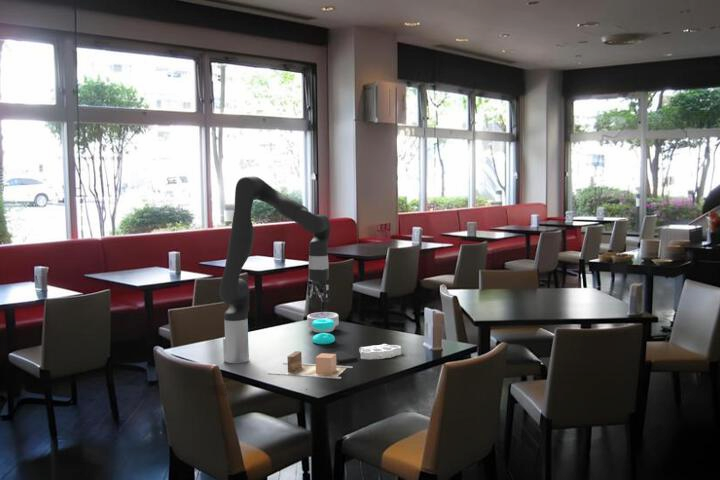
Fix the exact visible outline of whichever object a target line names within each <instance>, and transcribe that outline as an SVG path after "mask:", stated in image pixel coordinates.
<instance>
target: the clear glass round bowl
mask: <svg viewBox="0 0 720 480" xmlns="http://www.w3.org/2000/svg"><path fill="white" fill-rule="evenodd" d="M306 319H307V320H306V321H307V322H306V323H307V324H306V325H307V327H309V328H310V329H311V330H312V331H313V332H314V333H317V334H321V333H328V334H329V333H331V332H333V331H334V330H335V329H336V327H337V326H339V324H340V321H339V320H340V319H339V314H338V313H337V312H331V311H326V312H322V311H320V312H319V311H318V312H313V313H310V314H308V315H307V316H306ZM317 319H331V320H333V321H334V326H333V327H332V328H330V329H325V330H320V329H316V328H314V327H313V326H312V322H313V321H314V320H317Z"/></svg>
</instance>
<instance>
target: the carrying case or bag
mask: <svg viewBox="0 0 720 480" xmlns="http://www.w3.org/2000/svg"><path fill="white" fill-rule="evenodd" d="M325 354H336V365H337V364H338V365H346V364H352V363H356V362H359V358H358V357H357V356H355V355H352V354H350V353H347V352H346V351H345V352H344V351H341V350H338V351H332V352H326V353H325Z"/></svg>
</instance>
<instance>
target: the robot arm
mask: <svg viewBox="0 0 720 480" xmlns="http://www.w3.org/2000/svg"><path fill="white" fill-rule="evenodd" d="M255 200H257V201H261V202H264V203H266V204H267V205H268V204H269V205H270V206H271V207H272V208H274V209H275V210H276V211H277V212H278V213H279V214H281V215H282V216H283V217H285V218H287V219H289V220H290V221H293V222H295V223H297V224H298V225H299V226H300V227H301V228H303V229H304V230H305V231H307V232H309V233H311V234H312V239H311V241H310V242H309V245H308V253H309V257H308V280H307V296H308V297H309V298H310V308H312V309H316V308H317V306H318V305H317V303H318V302H317V301H318V299H317V296H318V297H319V299H320V301H321V302H320V307H321V308H320V312H328V302H330V301H331V298H332V297H331V296H332V295H331V285H330V284H326V281H328V280H329V278H330V277H329V275H330V274H329V273H330V270H329V268H330V267H329V265H330V264H329V256H328V255H329V250H328V249H329V247H328V243H329V239H330V232H331V222H330V219H329V217H328V216H327V215H326V214H322V213H321V214H315V213H313V212H311V211H310V210H309V209H308V208H307V207H306V206H305V205H304V204H301V203H299V202H297V201H295V200H294V199H292V198H289V197H288V196H287V195H284V193H283V194H282V193H281V192H279V191H278V190H276V189H275V188H273V187H272V186H271V185H269V184H268V183H267V182H266V181H264V180H263V179H261V177H258V176H254V175H252V176H243V177H240V179H238V181H237V182H236V185H235V191H234V207H233V208H234V209H233V217H232V223H231V230H230V234H229V235H230V236H229V241H228V249H227V254H226V261H225V265H224V268H223V269H224V270H223V273H222V278H221V281H220V285H219V289H218V290H219V293H218V294H219V298H220V300H221V302H223V303H224V304H227V305H228V304H229V307H228V308H227V310H225V311H224V314H223V315H224V317H223V318H224V338H223V339H222V346H223V347H222V349H223V362H225V363H228V364H241V363H247V362H248V361H249V360H250V356H249V355H250V352H249V351H250V348H249V324H248V321H249V320H248V318H249V317H248V314H249V311H250V287H249V285H248V282H247V281H246V280H245V279H243V278H240V274H241V272H242V269H243V267H244V265H245V264H246V262H247V260H248V258H249V257H250V255H251V253H252V250H253V246H254V245H253V244H254V239H255V231H254V225H253V221H252V209H253V204H254V201H255Z"/></svg>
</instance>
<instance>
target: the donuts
mask: <svg viewBox="0 0 720 480" xmlns="http://www.w3.org/2000/svg"><path fill="white" fill-rule="evenodd" d="M312 326H313V327H314V328H316V329H320V330H325V329H330V328H332V327H333V326H334V321H333V320H331V319H317V320H314V321H313V322H312ZM335 340H336V338H335V336H334V334H331V333H329V332H328V333H317V334H315V335H313V337H312V343H314V344H316V345H329V344H332V343H334V342H335Z"/></svg>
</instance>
